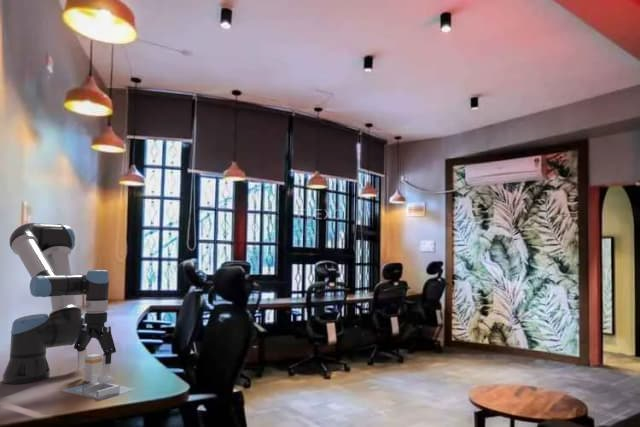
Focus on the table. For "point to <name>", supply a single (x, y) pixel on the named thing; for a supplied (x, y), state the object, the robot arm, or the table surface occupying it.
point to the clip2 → (107, 380)
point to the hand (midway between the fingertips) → (93, 371)
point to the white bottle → (92, 366)
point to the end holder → (100, 390)
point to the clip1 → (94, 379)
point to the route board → (78, 389)
